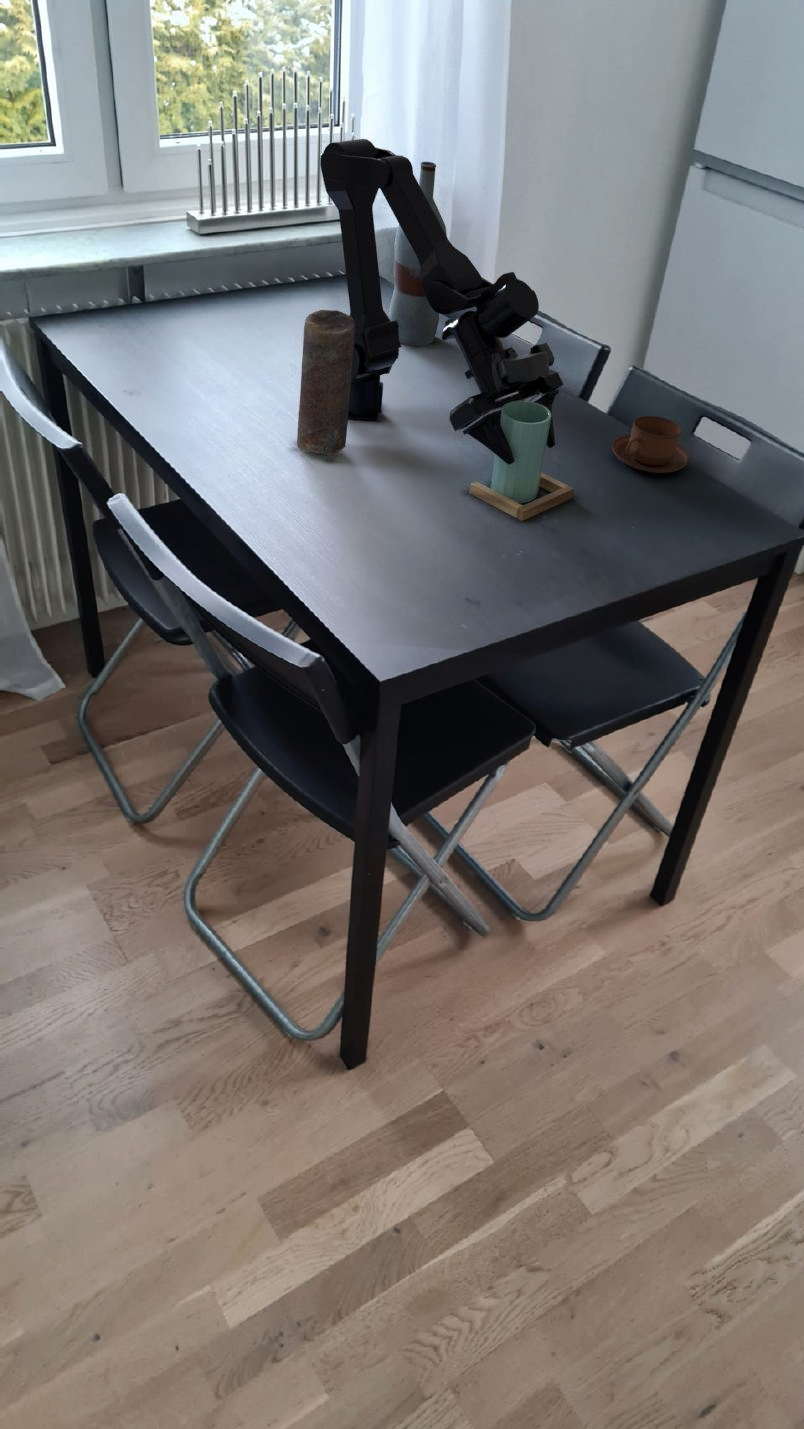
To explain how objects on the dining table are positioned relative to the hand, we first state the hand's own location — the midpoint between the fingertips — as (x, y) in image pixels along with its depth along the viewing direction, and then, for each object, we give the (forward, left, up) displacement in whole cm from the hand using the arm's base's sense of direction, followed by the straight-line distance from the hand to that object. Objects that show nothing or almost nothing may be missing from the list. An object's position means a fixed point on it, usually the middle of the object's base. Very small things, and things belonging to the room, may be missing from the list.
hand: (532, 455), depth 158 cm
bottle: (-16, +60, -7) cm, 63 cm away
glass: (-2, +2, -7) cm, 7 cm away
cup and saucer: (+21, +15, -7) cm, 27 cm away
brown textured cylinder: (-30, +10, -7) cm, 33 cm away
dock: (-1, +1, -7) cm, 7 cm away
